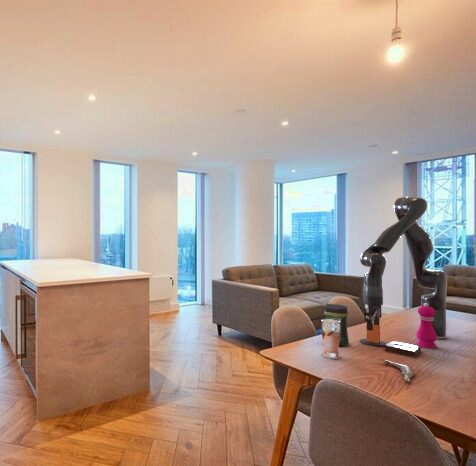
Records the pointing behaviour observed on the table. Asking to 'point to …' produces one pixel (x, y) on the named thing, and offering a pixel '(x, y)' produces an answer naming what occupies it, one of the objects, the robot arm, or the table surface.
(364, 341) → the coaster
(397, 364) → the jawbone
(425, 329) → the pepper mill
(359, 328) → the table surface
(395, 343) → the holder
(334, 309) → the coffee jar
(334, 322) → the beer glass
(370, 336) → the orange rectangular block
